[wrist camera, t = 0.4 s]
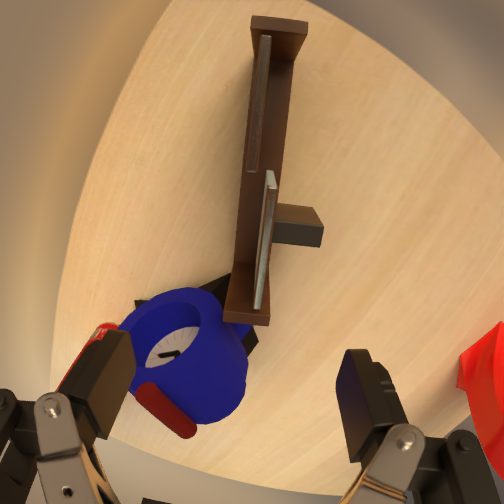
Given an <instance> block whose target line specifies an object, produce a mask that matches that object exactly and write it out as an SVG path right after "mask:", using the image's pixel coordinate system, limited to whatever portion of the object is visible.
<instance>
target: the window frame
mask: <svg viewBox="0 0 504 504" xmlns="http://www.w3.org/2000/svg"><path fill="white" fill-rule="evenodd" d="M250 30H251V37H252V45H253V52H254V64H253V73H252V82H251V91H250V100H249V109H248V118H247V128H246V137H245V147H244V157H243V167H242V177H241V188H240V198H239V209H238V220H237V231H236V242H235V253H234V263H233V268H232V273H231V277H230V282H229V287H228V292H227V297H226V302H225V306H224V312H223V322H230V323H239V324H249V325H259V326H269V321H270V286H269V264H268V271H267V278H266V285H265V293H264V300H263V307H262V309H253V297H254V285H255V267H256V256H257V248H258V239H259V231H260V222H261V214H262V205H263V196H264V188H265V179H266V171H267V170H271V171H273V172H274V176H275V180H276V185H277V186H278V193H279V185H280V177H281V169H282V161H283V153H284V145H285V136H286V128H287V119H288V111H289V102H290V93H291V84H292V75H293V65H294V61H295V59H296V57H297V55H298V53H299V51H300V49H301V46H302V44H303V42H304V40H305V38H306V36H307V33H308V22H305V21H299V20H292V19H284V18H276V17H266V16H254V15H253V16H252V18H251V26H250ZM277 201H278V196H277ZM271 246H272V242H271ZM270 253H271V249H270ZM269 261H270V257H269Z"/></svg>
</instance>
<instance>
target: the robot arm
mask: <svg viewBox="0 0 504 504" xmlns="http://www.w3.org/2000/svg"><path fill="white" fill-rule="evenodd" d="M135 372H136V359H135V355H134V350H133V346H132V341H131V336H130V333H129V332H128V331H122V330H116V329H108V331H107V332H106V333H105V335H104V336H103V338H102V339H101V340H99V339H96V340H95V341H93V342H92V343H91V344H89V345H88V346H86V348H85V349H84V351H83V352H82V354H81V355H80V357H79V358H78V360H77V361H76V363H75V365H74V366H73V367H72V369H71V370H70V372H69V373H68V375H67V376H66V378H65V379H64V381H63V383H62V384H61V386H60V387H59V389H58V390H57V392H51V393H47V394H44V395H42V396H41V397H40V398H39V399H38V400H37V401H36V402H34V401H20V400H17V398H16V397H15V395H14V393H13V392H12V391H10V390H8V389H0V456H1V454H2V452H3V449H4V448H5V446H6V444H7V442H8V440H10V444H9V446H8V448H7V450H6V452H5V454H4V456H3V458H2V460H1V462H0V504H25V502H26V500H27V497H28V494H29V491H30V488H31V486H32V483H33V481H34V478H35V476H36V473H37V471H38V473H39V477H40V482H41V485H42V489H43V492H44V496H45V500H46V503H47V504H121V503H120V502H119V500H118V498H117V496H116V495H115V493H114V492H113V490H112V488H111V486H110V484H109V482H108V479H107V477H106V475H105V472H104V470H103V467H102V465H101V462H100V460H99V457H98V454H97V452H96V449H95V446H94V441H95V439H96V437H98V438H101V439H105V440H107V438H108V436H109V433H110V431H111V429H112V426H113V424H114V421H115V419H116V417H117V414H118V412H119V410H120V408H121V405H122V403H123V401H124V398H125V396H126V394H127V392H128V389H129V387H130V385H131V383H132V380H133V378H134V376H135ZM336 395H337V400H338V404H339V409H340V414H341V418H342V423H343V428H344V433H345V438H346V443H347V448H348V453H349V459H350V463H356V462H361V467H362V469H361V471H360V472H359V474H358V475H357V477H356V478H355V480H354V481H353V483H352V484H351V486H350V487H349V489H348V490H347V492H346V493H345V495H344V496H343V498H342V499H341V500H340V502H339V503H338V504H405V503H406V500H407V497H406V496H405V492H406V490H408V491H412V493H413V498H414V503H415V504H501V502H500V499H499V495H498V492H497V489H496V486H495V483H494V480H493V477H492V474H491V471H490V468H489V466H488V463H487V460H486V458H485V455H484V453H483V450H482V448H481V445H480V443H479V440H478V439H477V437H476V436H475V435H474V434H473V433H471V432H470V431H467V430H456V431H454V432H453V433H451V435H450V436H449V437H448V438H447V439H443V438H432V437H426V436H424V434H423V433H422V431H421V430H420V429H419V428H417V427H416V426H413V425H411V424H409V423H408V420H407V418H406V415H405V412H404V410H403V407H402V405H401V402H400V400H399V397H398V395H397V392H395V387H394V385H393V384H392V380H391V377H390V375H389V373H388V371H387V370H386V369H385V368H384V367H383V366H382V365H381V364H380V363H379V362H372V359H371V356H370V354H369V352H368V350H367V349H347V350H346V352H345V354H344V357H343V361H342V364H341V367H340V370H339V373H338V376H337V379H336ZM141 504H170V503H165V502H160V501H155V500H151V499H147V498H143V500H142V503H141Z"/></svg>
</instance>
